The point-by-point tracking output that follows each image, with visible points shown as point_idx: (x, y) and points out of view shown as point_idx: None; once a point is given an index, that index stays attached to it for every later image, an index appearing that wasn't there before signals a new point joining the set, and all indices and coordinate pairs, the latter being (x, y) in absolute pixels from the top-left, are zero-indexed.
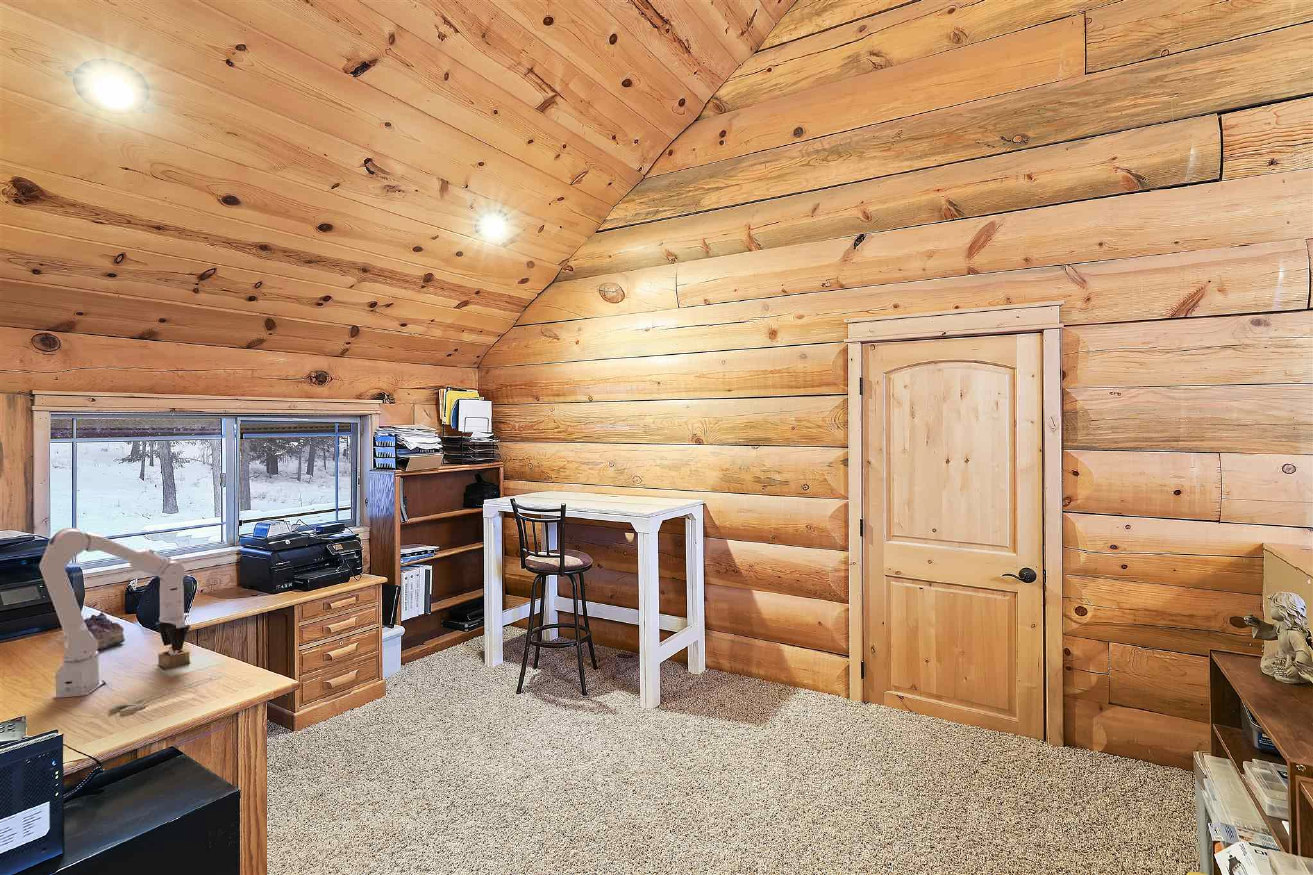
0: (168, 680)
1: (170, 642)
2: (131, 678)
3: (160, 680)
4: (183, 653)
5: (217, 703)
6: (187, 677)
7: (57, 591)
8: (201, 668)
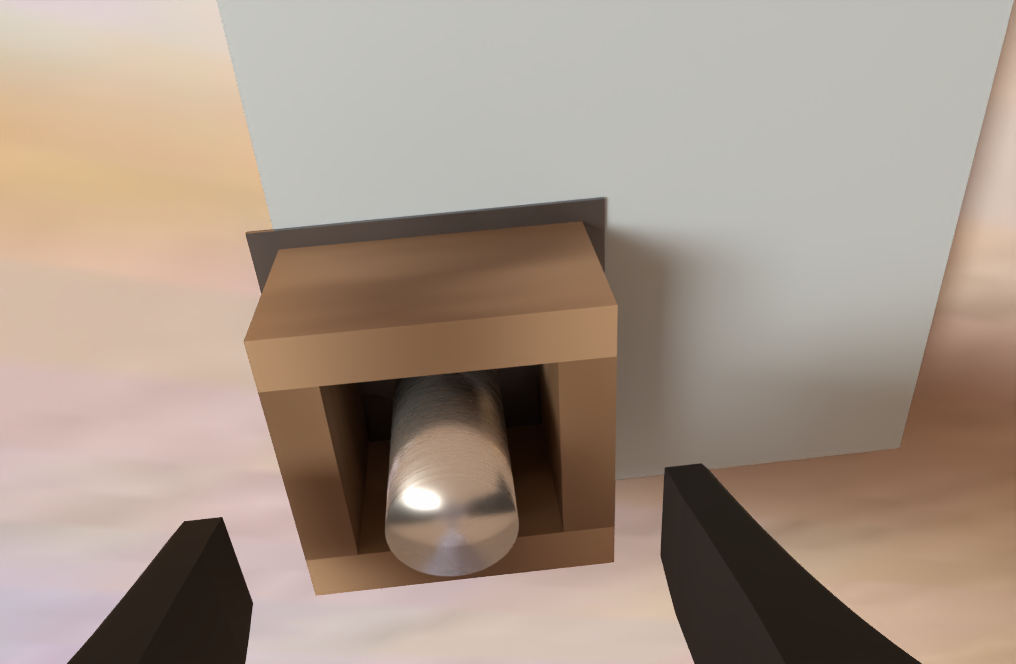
0: None
1: (220, 570)
2: (480, 623)
3: (776, 480)
4: (614, 374)
5: None
6: (954, 297)
7: None
8: (958, 156)
